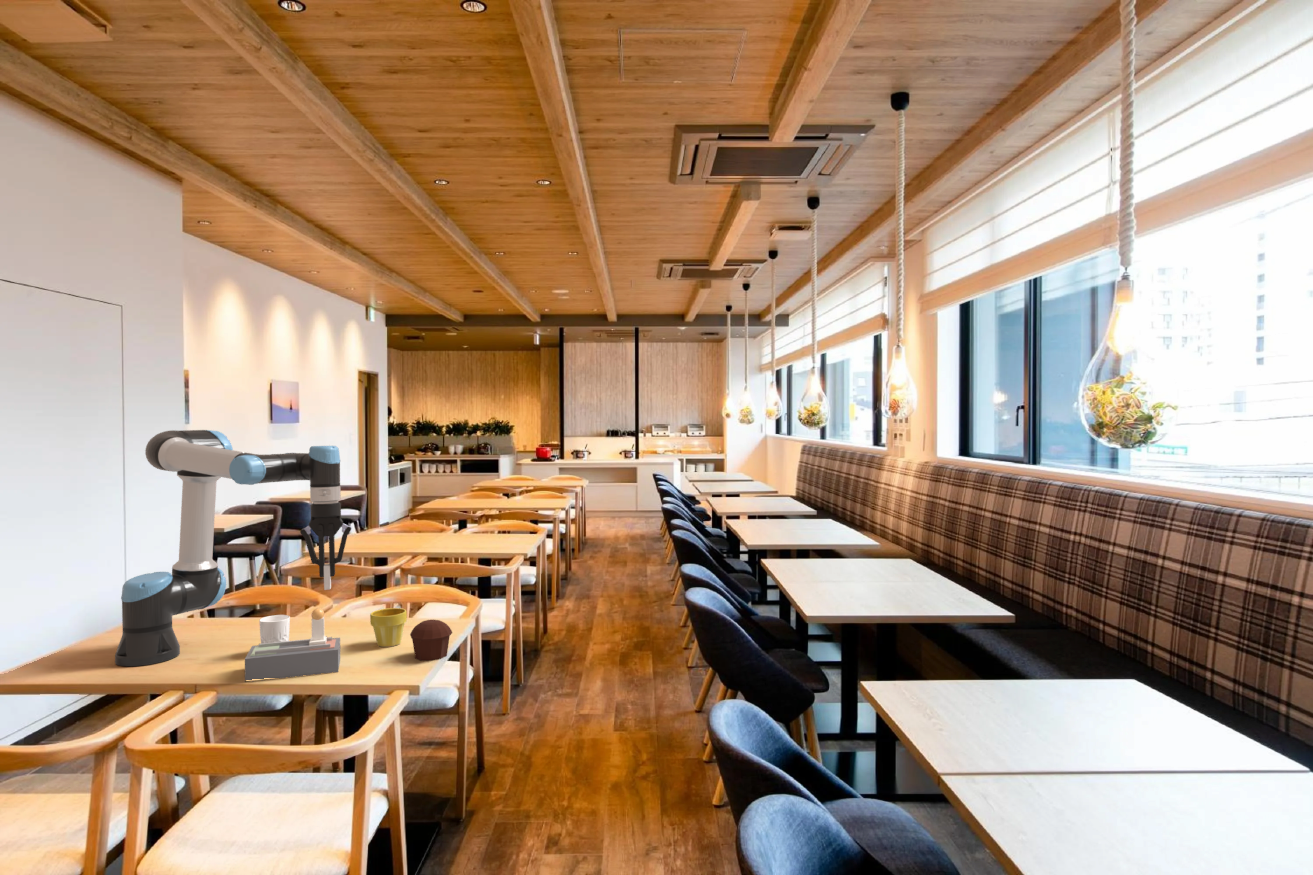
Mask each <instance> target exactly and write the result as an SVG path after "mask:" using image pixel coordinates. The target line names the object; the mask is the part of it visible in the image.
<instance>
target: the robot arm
mask: <svg viewBox="0 0 1313 875" xmlns="http://www.w3.org/2000/svg"><path fill="white" fill-rule="evenodd" d="M144 451H145V453H144V454H145V457H146V458H145V459H146V460H147V461H148V463H149V464H150V465H151V466H152V467H153V468H155V469H158V470H160V471H168V472H173V473H174V472H176V476H177V477H178V478H179V479H180V480H181V481H182V486H181V487H182V492H181V507H180V508H181V511H180V526H179V527H180V530H179V545H178V546H179V548H178V560H177V561H176V562H175V563H174V564H172V568H171V569H172V570H171V571H172V572H169V571H154V572H152V573H151V572H150V573H148V572H147V573H143V574H140V575H137V576H134V577H131V578H129V579H128V580H126V581H125V582H124V584H122V591H121V598H120V599H121V609H122V610H121V614H122V615H121V617H122V618H121V619H122V620H121V621H122V622H121V624H122V636H121V638H120V641H119V644H118V646H117V649H116V651H115V654H114V664H115V665H117V666H121V667H140V666H148V665H154V664H155V665H156V664H160V663H163V662H166V661H169V660H173V659H175V658H177V657H178V656H179V655H180V654H181V646H180V643H179V640H178V638H177V636H176V633H175V631H174V628H173V616H177V615H182V614H185V613H190V612H194V611H197V610H198V611H200V610H204V609H206V608H209V607H212V606H214V605H216V604H217V603H218V602H219V601H221V600H222V598H223V597H224V595H225V593H226V592H225V591H226V587H227V580H226V576H224V575H225V574H224V572H223V570H222V569H220V568H219V567H218V566H219V565H218V562H217V561H215V560H214V559H213V553H214V538H215V537H214V534H215V532H214V531H215V516H216V515H215V514H216V500H217V499H216V498H217V497H216V496H217V495H216V494H217V482H218V480H220V479H221V478H226V479H232V481H233V482H235V484H236V485H237V484H238V485H250V486H252V485H258V484H267V483H278V482H279V483H280V482H293V481H309V487H310V488H309V489H310V490H309V496H310V498H309V499H310V500H309V501H310V502H312V503H311V504H310V521H309V522H308V525H307V526H306V527H303V528H302V529H301V530H300V531H299V532H300V534H301V536H302V537H303V538H304V541H305V543H306V549H307V551H308V554H309V558H310V561H311V564H313V565H317V566H318V567H319V568H318V570H319V571H318V572H319V575H318V576H319V577H320V578H323V589H324V591H326V590H327V591H328V590H331V588H332V580H331V579H332V577H335V575H336V564H337V563H340V562H342V560H343V556H344V552H345V547H346V545H347V544H346V543H347V540H348V536H349V533H350V532H351V530H352V526H351V525H348V524H345V523H344V521H343V519H342V503H341V502H340V501H341V499H342V498H341V495H342V494H341V493H342V492H341V457H340V450H339V447H338V446H337V445H313V446H310V447H309V452H308V453H307V452H306V453H305V452H304V453H303V452H285V453H272V454H259V453H258V454H256V453H252V452H251V453H250V452H245V451H238V450H234V449H233V445H232V443H231V441H230V439H229V438H228V437H227V435H225V434H224V433H223V432H221V431H218V430H212V429H211V430H209V429H192V430H191V429H188V430H187V429H186V430H176V429H175V430H173V429H172V430H166V431H162V432H160V433H157V434H155V435H154V436H152V437H151V438H150V439H149V441H147V444H146V446H145V450H144ZM340 529H341V532H342V533H343V534H342V536H341V540H340V543H339V548H338V552H337V557H336V553H335V552H336V551H335V550H336V547H335V538H336V537H335V536H336V534H337V533H338V532H339V530H340ZM311 530H312V532H313V533H314V534H315V536H317V538H318V540H317V542H318V557H317V554H316V551H315V547H314V544H313V540H312V537H311V534H312V532H311ZM325 537H328V553H329V555H328V556H329V557H328V558H329V563H327V564H326V563H325V562H326V561H325V560H326V559H325V557H326V556H325V554H326V553H325Z"/></svg>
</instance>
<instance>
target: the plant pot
mask: <svg viewBox="0 0 1313 875" xmlns="http://www.w3.org/2000/svg"><path fill="white" fill-rule="evenodd" d="M369 614H370V615H369V617H370V619H369V620H370V622H369V623H370V626H372V628H373V632H374V635H375V639H376V644H377V646H378V647H383V648H390V647H396V646H398V645H400V644H401V643H402V637H403V633H404V627H405V624H406V622H407V617H408V615H407V610H406V608H401V607H390V608H389V607H388V608H387V607H386V608H381V609H378V610H377V609H376V610H374V611H372V612H370V613H369Z"/></svg>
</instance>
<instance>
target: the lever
mask: <svg viewBox="0 0 1313 875" xmlns="http://www.w3.org/2000/svg"><path fill="white" fill-rule="evenodd" d="M309 639H310V642H309V646H310V645H320V644H326V642H327V635H325V612H324V610H323V609H322V608H318V607H317V608H315V609H313V610H312V612H311V637H310V638H309Z"/></svg>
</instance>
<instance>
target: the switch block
mask: <svg viewBox="0 0 1313 875" xmlns="http://www.w3.org/2000/svg"><path fill="white" fill-rule="evenodd" d="M310 639H311V638H308V639H307V638H306V639H296V640H289V641H284V642H273V643H263V644H261V643H259V644H258V645H252V646H250V649H249V651H248V652H247V654H246V656H245V657H244V681H245V680H252V679H264V678H279V679H285V678H286V677H288V678H296V677H295V676H297V677H304V676H303V675H306V676H314V675H313V674H315V675H322V674H321V673H324V674H332V672H333V673H339V669H340V664H341V637H334V638H333V637H332V636H329V637H327V642H326V644H320V645H310V646H309V642H310Z"/></svg>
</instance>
